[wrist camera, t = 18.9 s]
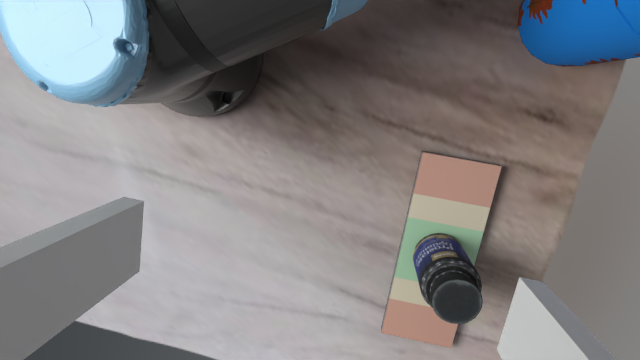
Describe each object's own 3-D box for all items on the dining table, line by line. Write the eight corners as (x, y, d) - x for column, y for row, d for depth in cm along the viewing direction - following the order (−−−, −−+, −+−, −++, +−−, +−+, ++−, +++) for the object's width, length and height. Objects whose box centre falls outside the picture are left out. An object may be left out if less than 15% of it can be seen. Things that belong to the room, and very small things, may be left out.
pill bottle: (443, 222, 46) (465, 259, 36) (474, 260, 47) (505, 308, 36) (401, 251, 48) (411, 296, 37) (432, 288, 48) (450, 342, 38)
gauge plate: (381, 327, 52) (381, 332, 50) (421, 150, 46) (422, 152, 45) (449, 342, 51) (451, 347, 50) (498, 164, 45) (501, 166, 44)
